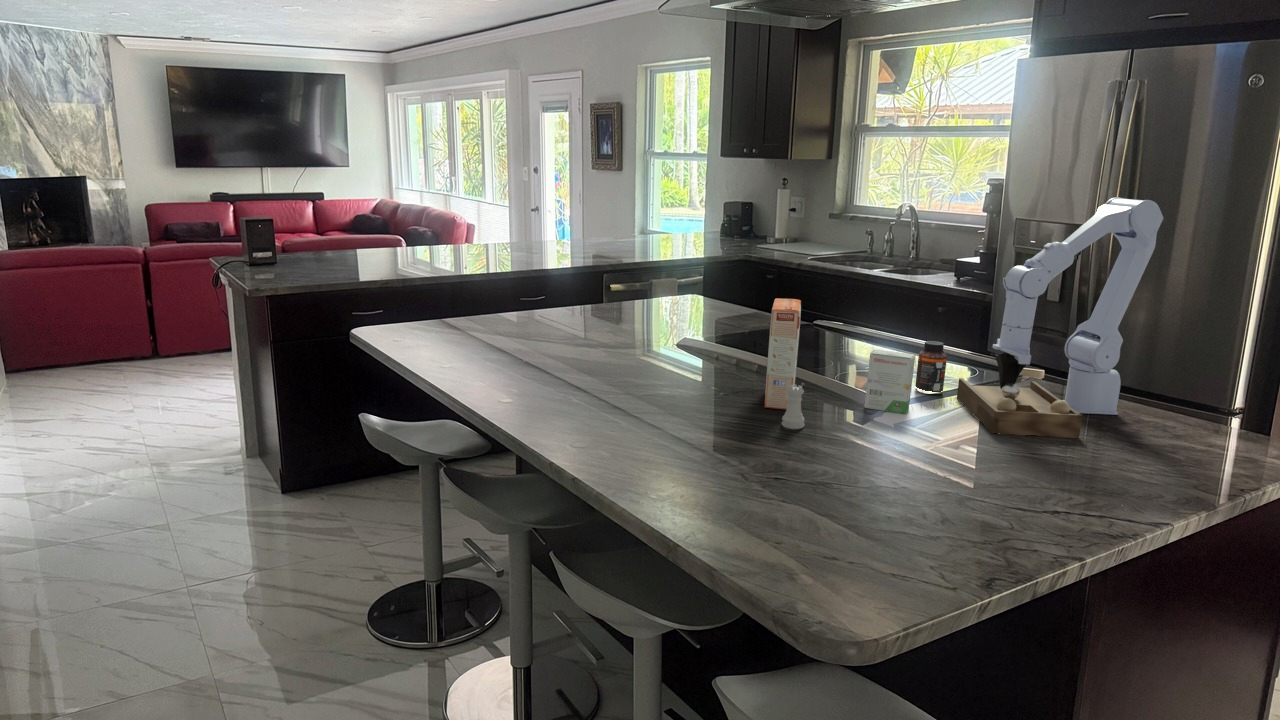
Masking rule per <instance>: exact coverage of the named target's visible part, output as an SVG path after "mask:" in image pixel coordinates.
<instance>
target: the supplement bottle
mask: <svg viewBox="0 0 1280 720" xmlns="http://www.w3.org/2000/svg"><path fill="white" fill-rule="evenodd" d="M944 344H945V343H944V342H941V341H938V340H937V341H936V340H927V341H924V346H923V347H924V349H923V350H920V352H919V353H918V358H917V359H918V360H917V365H916V366H917V368H916V376H915V385H914V387H915V386H916V387H917V388H919V389H922V390H925V391H932V392H941V391H943V392H944V386H945V377H946V368H947V359H948V356H947V354H946V352H945V351H944V349H945V348H944V346H945V345H944Z"/></svg>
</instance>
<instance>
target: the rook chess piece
mask: <svg viewBox="0 0 1280 720" xmlns="http://www.w3.org/2000/svg"><path fill="white" fill-rule="evenodd" d="M787 392H788V394H789V397H788V398H787V399H788V406H787V410H785V412H784V415H782V418H781V420H782V422H781V425H782V427H784V429H789V430H801V429H802V428H804V427H805V417H804V416H803V415H804V413H802V406H801V405H802V401H803V398H802V395H803V394H804V393H805V391H804V389H803V386H802V385H799V384H798V385H797V384H795V385H794V387H793V385H790V386H789V388H788V390H787Z"/></svg>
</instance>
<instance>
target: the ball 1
mask: <svg viewBox="0 0 1280 720" xmlns="http://www.w3.org/2000/svg"><path fill="white" fill-rule="evenodd" d="M997 409H998V410H1000V411H1015V410H1016V403H1015V402H1014V400H1012V399H1010V398H1003V399H1001V400H1000V401H999V402H998V404H997Z"/></svg>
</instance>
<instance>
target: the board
mask: <svg viewBox="0 0 1280 720" xmlns="http://www.w3.org/2000/svg"><path fill="white" fill-rule="evenodd" d="M1018 388H1019V391H1020V392H1019V395H1018V397H1017V398H1015V399H1012V400H1014V402H1015V403H1016V410H1015V411H1000V410H998V409H997V404H998V402H999V401H1000V400H1001V399H1003V398H1005V397H1004V396H1003V395H1002V389H1000V386H993V385H990V386H989V385H971V384H970V383H969V382H967V380H965V378H964V377H961V378H958V384H957V392H956V399H957V400H958V399H959V400H960V401H961V402H962V403H963V404H964V405H965V406H966V407H965V406H964V405H963V404H962V403H961V402H960V401H959V402H960V403H961V404H962V405H963V406H964V407H965V408H966V409H967V408H968V409H967V410H968V411H969V410H970V411H969V412H970V413H971V414H972V413H973V414H974V415H975V416H976V417H977V418H978V419H979V420H980V421H981V422H982V423H983V424H984V425H985V426H986V427H987V428H988V429H989V430H990V431H991V432H992V433H1000V434H999V435H1004V434H1014V435H1013V436H1025V435H1037V436H1036V437H1046V436H1050V437H1049V438H1069V439H1070V438H1071V439H1080V434H1081V427H1082V422H1083V415H1082V413H1078V412H1077V411H1076V410H1074V409H1073V408H1071V407H1070V406H1069V407H1070V412H1069V414H1066V413H1051V411H1050V407H1051V404H1052V403H1053V402H1055V401H1057V400H1061V399H1060V398H1059V397H1058V396H1056V395H1055V394H1053V393H1052V392H1050V391H1049V390H1048V389H1046V388H1045V387H1043V386H1042V385H1041V384H1039V383H1038V382H1037V381H1034V380H1033V381H1032V380H1030V387H1019V386H1018ZM973 414H972V415H973ZM974 415H973V416H974ZM975 416H974V417H975ZM976 417H975V418H976ZM977 418H976V419H977ZM978 419H977V420H978ZM979 420H978V421H979ZM980 421H979V422H980ZM981 422H980V423H981ZM982 423H981V424H982ZM983 424H982V425H983ZM984 425H983V426H984ZM985 426H984V427H985ZM986 427H985V428H986ZM987 428H986V429H987ZM988 429H987V430H988ZM989 430H988V431H989ZM990 431H989V432H990ZM991 432H990V433H991ZM992 433H991V434H992ZM1015 434H1017V435H1015Z"/></svg>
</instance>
